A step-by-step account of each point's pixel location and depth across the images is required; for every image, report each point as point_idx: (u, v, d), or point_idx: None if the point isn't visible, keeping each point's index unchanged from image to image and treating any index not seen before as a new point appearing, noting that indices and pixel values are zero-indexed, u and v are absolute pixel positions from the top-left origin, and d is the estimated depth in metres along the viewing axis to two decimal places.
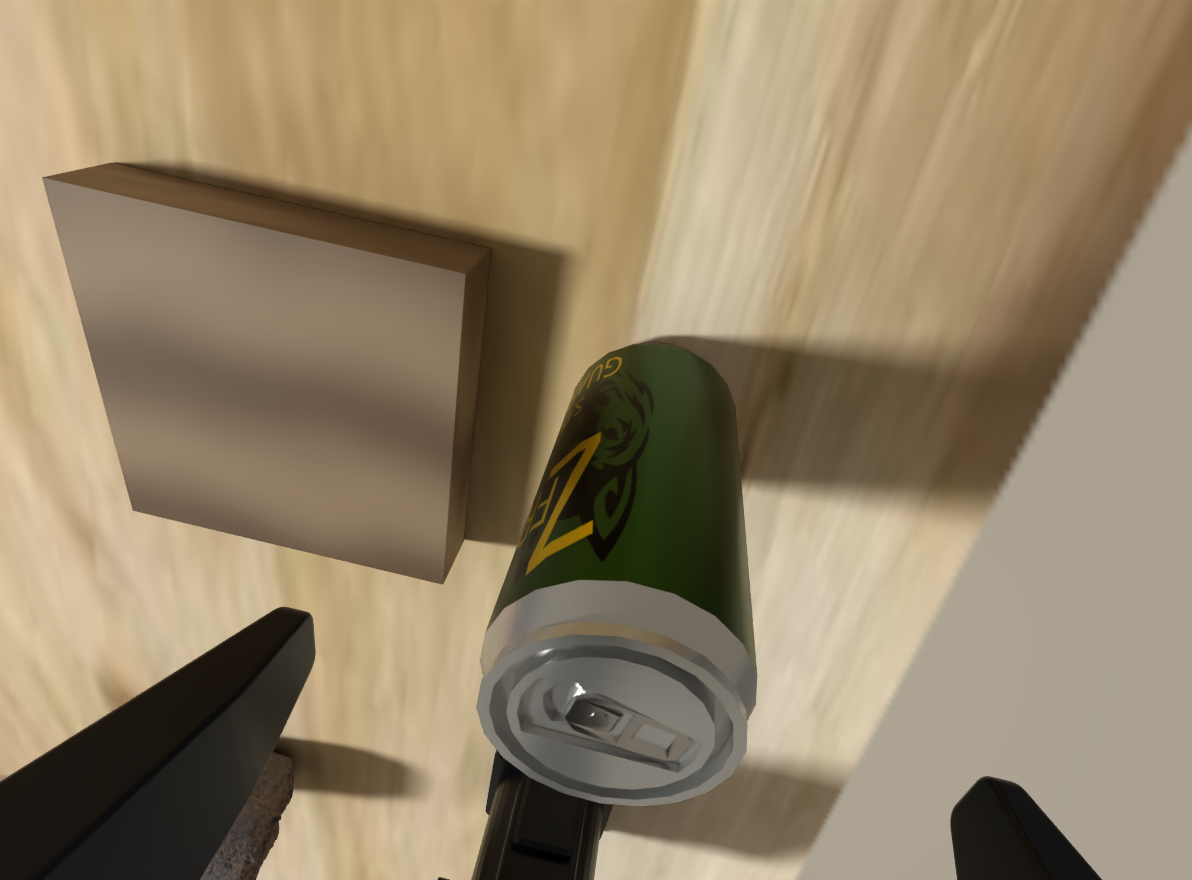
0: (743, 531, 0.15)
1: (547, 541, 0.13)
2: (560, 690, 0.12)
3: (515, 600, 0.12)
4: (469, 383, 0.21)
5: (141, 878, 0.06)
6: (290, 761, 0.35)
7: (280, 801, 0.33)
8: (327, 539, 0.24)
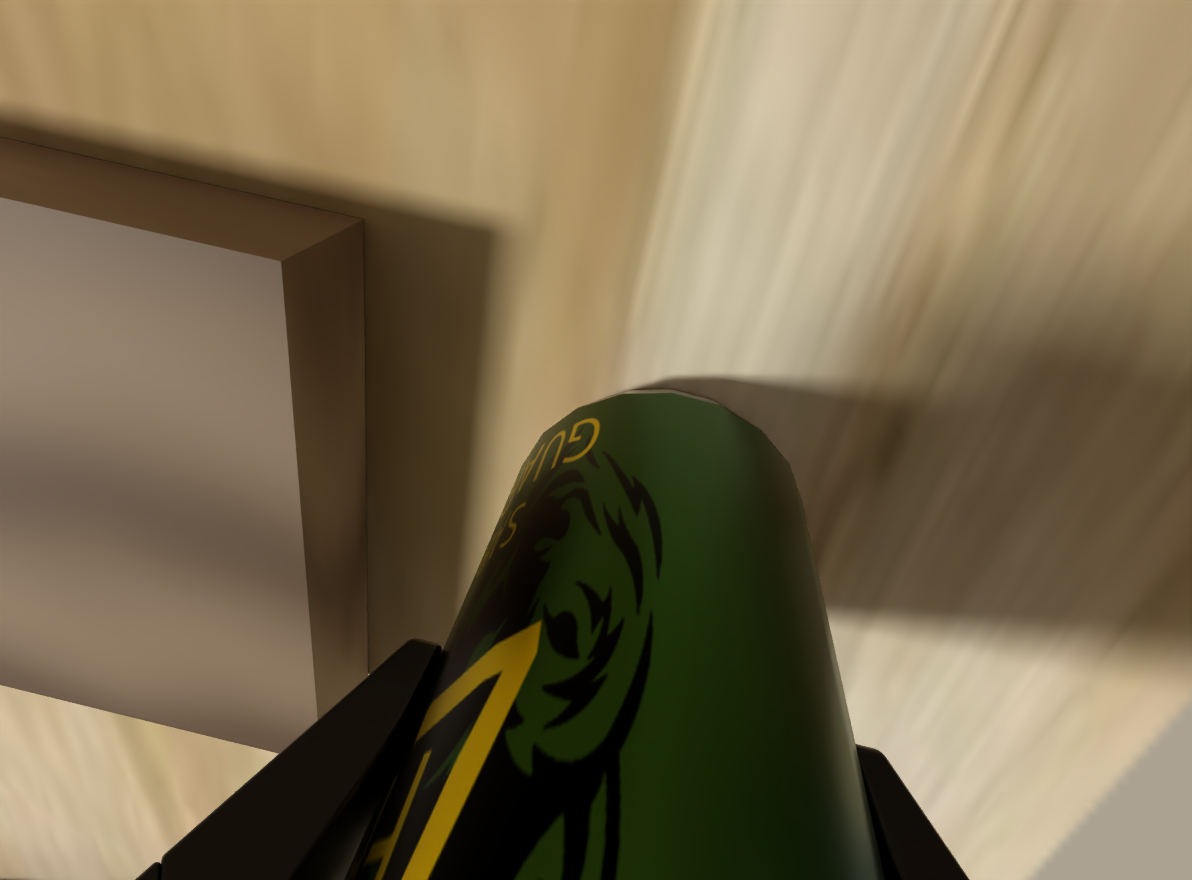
0: None
1: None
2: None
3: None
4: (337, 457, 0.12)
5: None
6: None
7: None
8: (132, 695, 0.15)
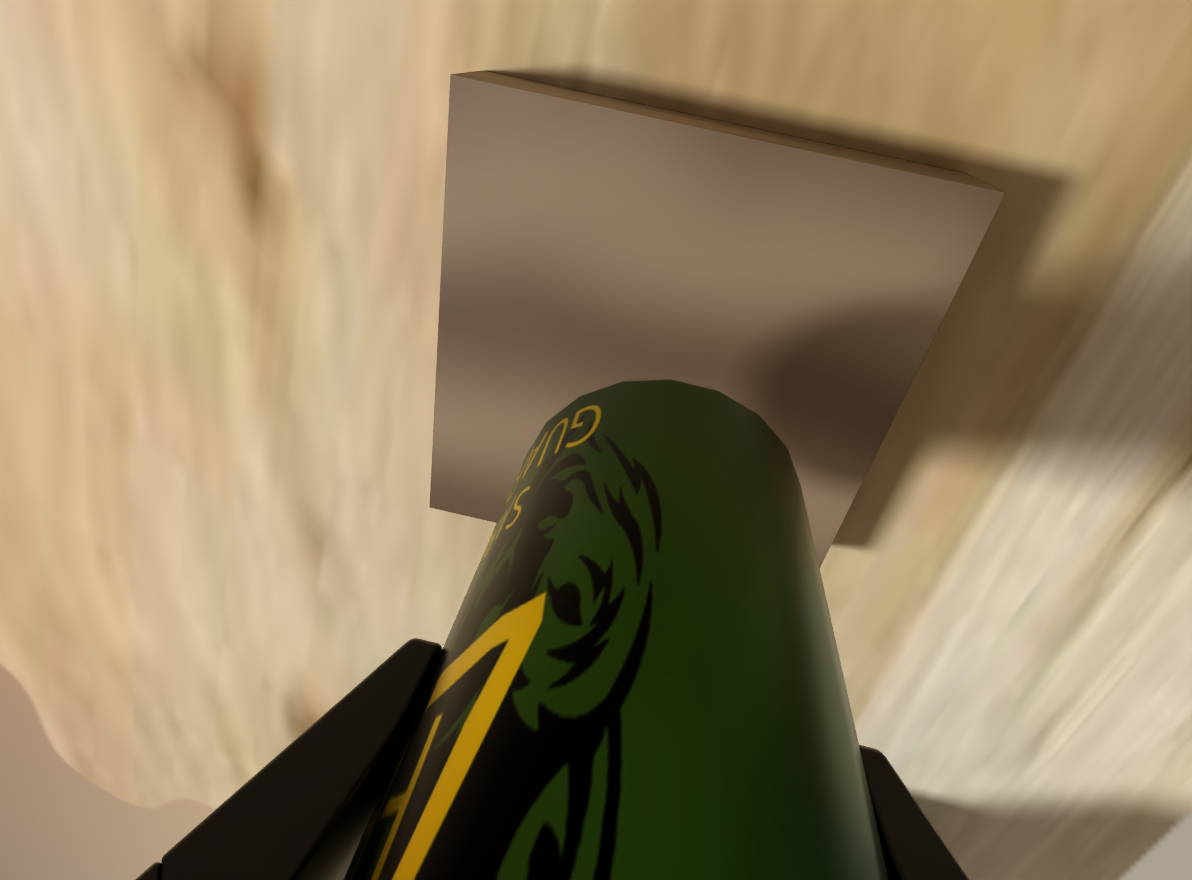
0: (876, 836, 0.06)
1: None
2: None
3: None
4: None
5: None
6: None
7: None
8: None
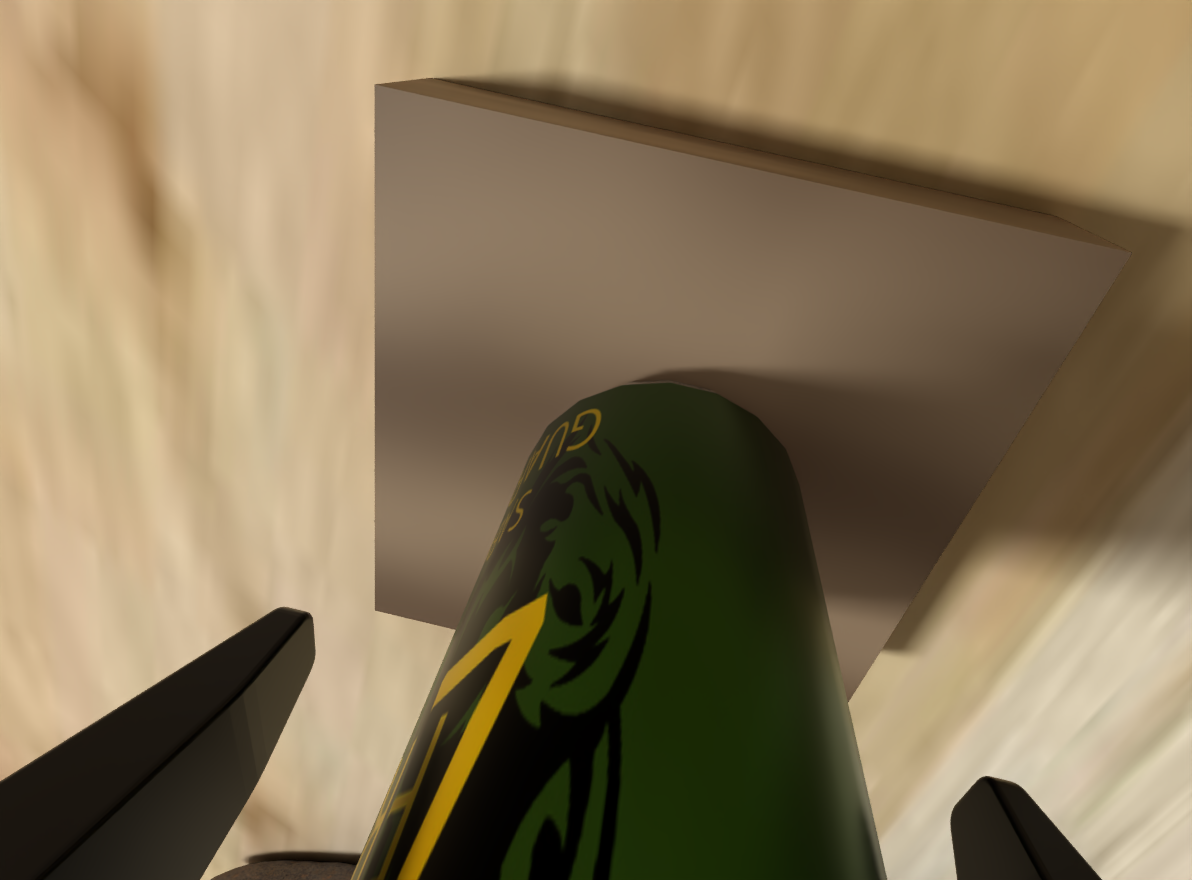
0: (873, 829, 0.07)
1: None
2: None
3: None
4: None
5: (141, 878, 0.06)
6: None
7: None
8: None
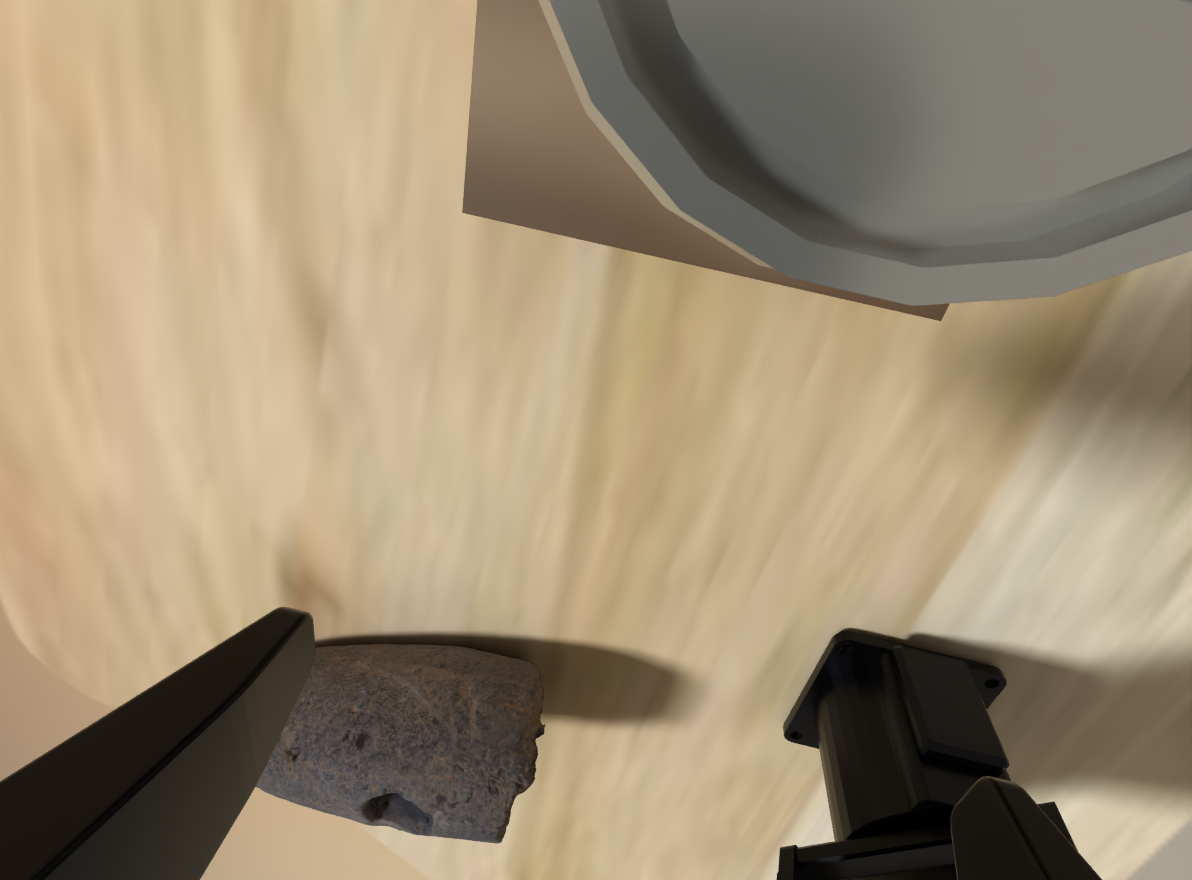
0: None
1: None
2: None
3: None
4: None
5: (141, 878, 0.06)
6: (532, 665, 0.27)
7: (540, 710, 0.25)
8: None
